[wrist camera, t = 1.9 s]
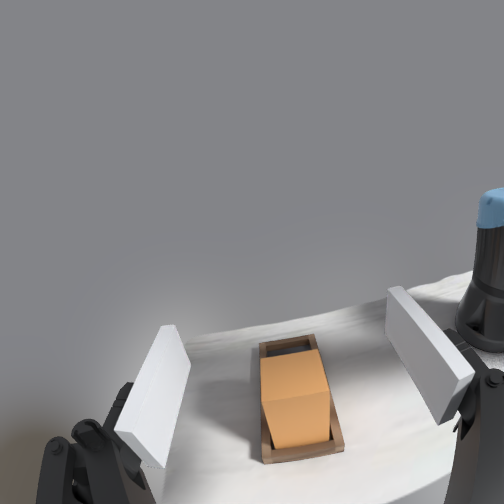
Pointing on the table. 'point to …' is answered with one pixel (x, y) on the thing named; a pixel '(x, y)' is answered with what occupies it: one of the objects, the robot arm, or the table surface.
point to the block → (295, 399)
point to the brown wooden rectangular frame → (268, 448)
